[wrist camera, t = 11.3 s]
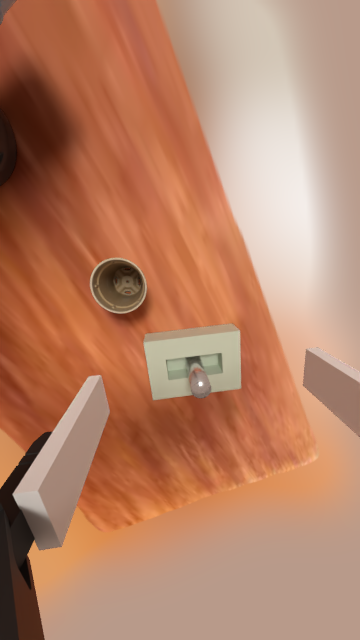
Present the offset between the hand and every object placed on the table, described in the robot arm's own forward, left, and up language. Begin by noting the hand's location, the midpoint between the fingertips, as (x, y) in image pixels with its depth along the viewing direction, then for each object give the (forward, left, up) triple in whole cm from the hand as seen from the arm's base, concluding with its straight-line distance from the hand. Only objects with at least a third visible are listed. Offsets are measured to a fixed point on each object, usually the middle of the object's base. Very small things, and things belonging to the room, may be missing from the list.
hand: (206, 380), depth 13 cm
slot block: (+15, +2, -33) cm, 36 cm away
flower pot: (-4, -10, -33) cm, 35 cm away
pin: (+15, +2, -32) cm, 35 cm away
